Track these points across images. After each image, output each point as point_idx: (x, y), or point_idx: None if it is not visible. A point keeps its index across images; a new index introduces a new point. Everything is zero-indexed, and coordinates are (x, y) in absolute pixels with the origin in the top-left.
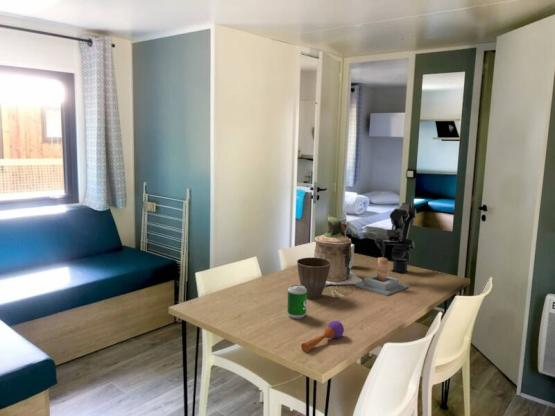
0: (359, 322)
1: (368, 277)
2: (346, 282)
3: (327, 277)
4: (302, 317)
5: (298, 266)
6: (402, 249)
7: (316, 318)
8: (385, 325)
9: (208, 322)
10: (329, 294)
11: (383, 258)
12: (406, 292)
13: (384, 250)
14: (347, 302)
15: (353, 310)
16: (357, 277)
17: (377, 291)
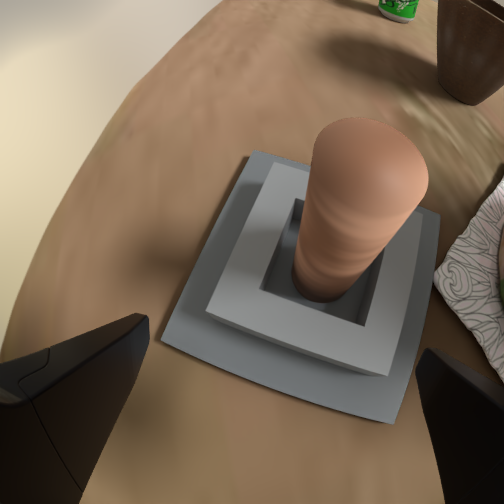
0: (275, 12)
1: (411, 246)
2: (480, 238)
3: (446, 31)
4: (381, 12)
5: (497, 11)
6: (46, 383)
7: (359, 11)
8: (219, 18)
9: None
10: (440, 107)
11: (371, 173)
12: (164, 249)
13: (464, 485)
14: (359, 68)
15: (315, 39)
16: (474, 323)
17: (307, 166)
